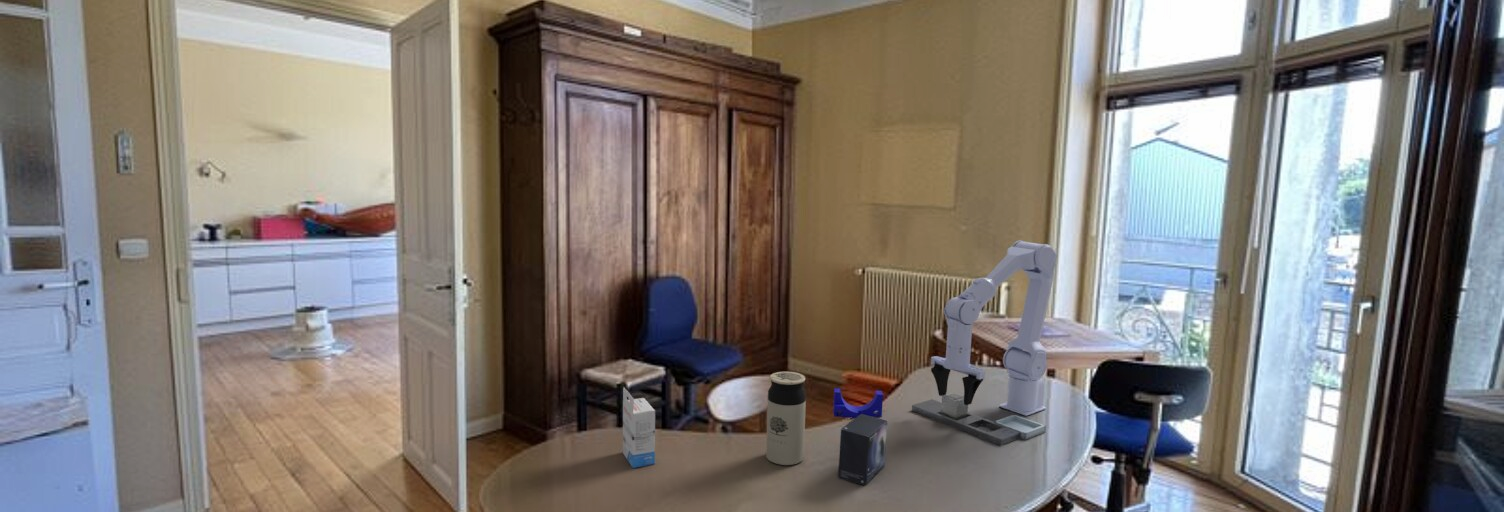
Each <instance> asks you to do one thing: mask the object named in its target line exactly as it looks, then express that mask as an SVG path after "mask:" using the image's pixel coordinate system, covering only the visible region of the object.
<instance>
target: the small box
mask: <svg viewBox="0 0 1504 512" xmlns="http://www.w3.org/2000/svg"><path fill="white" fill-rule="evenodd" d="M887 431H888V420H887V419H881V418H880V417H872V416H868V415H864V414H860V415H859V416H858V417H856V418H853V419H852V420H850V422H848V423H847V424H845V425H844V426H842V427H841V429H840V435H839V437H840V439H839V440H840V441H839V442H840V443H839V456H838V472H837V478H838V479H842V480H845V481H848V482H852V483H856V484H858V485H862V486H866V485H868V484H869V483H870V482H871V481H872V479H874V478H875V477H876V475H878V474H879V473H880V472H881V471H882V470H883V469H884V468H885V464H886V448H887V447H886V446H887V445H886V444H887Z"/></svg>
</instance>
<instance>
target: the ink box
mask: <svg viewBox="0 0 1504 512" xmlns="http://www.w3.org/2000/svg"><path fill="white" fill-rule="evenodd" d="M622 395H623V396H622V454H623V455H624V457H625V458H626V460H627V462H628V463H629V464H630V466H631V468H632V469H633V468H634V469H635V468H640V467H645V466H650V465H651V466H652V465H655V463H656V442H655V441H656V439H655V438H656V435H655V434H656V409H654V408H653V406H651V404H650V403H649V402H648V401H647V399H646V398H644V397H641V398H640V397H639V398H635V397H633V396H632V395H631V393H630V392H629V391H628V390H627V389H626V388H625V387H623V389H622Z"/></svg>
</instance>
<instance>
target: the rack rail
mask: <svg viewBox="0 0 1504 512" xmlns="http://www.w3.org/2000/svg"><path fill="white" fill-rule="evenodd" d="M941 406H942V401H937V400H935V399H929V400H925V401H922V402H918V403H914V404H912V405H911V411H913V412H914V413H915V412H916V413H917V414H920V415H923V416H925V417H928V418H930V419H933V420H936V421H938V422H941V423H943V424H946V425H948V426H950V427H953V428H956V429H958V430H961V431H963V432H965V433H969V434H971V435H973V436H975V437H979V438H981V439H983V440H987V441H989V442H992V443H994V444H996V445H999V446H1004V445H1007V444H1009V443H1011V442H1013V441H1016V440H1019V439H1022V438H1021V432H1019V431H1016V430H1013V429H1011V428H1008V427H1005V426H1002V425H1000V424H997V423H994V421H993V420H990V419H987V418H984V417H982V416H978V415H976V414H974V413H971V412H967V417H966V418H963V419H960V420H954V419H951V418H949V417H946V416H944V415H941ZM979 426H983V427H986V428H989V429H991V430H992V431H990V432H988V431H986V430H982V429H980V428H977V427H979Z"/></svg>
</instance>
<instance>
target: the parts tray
mask: <svg viewBox="0 0 1504 512" xmlns="http://www.w3.org/2000/svg"><path fill="white" fill-rule="evenodd" d="M993 422H994V423H997V424H1000V425H1002V426H1005V427H1008V428H1011V429H1013V430H1016V431H1019V432H1021V438H1020V439H1022V440H1025V441H1026V440H1028V439H1031V438H1033V437H1036V436H1039V435H1041V434H1044V433H1046V430H1047V425H1045V424H1042V423H1040V422H1037V421H1035V420H1034V421H1033V420H1031V419H1029V418H1026V417H1023V416H1019V415H1017V414H1011V415H1009V416H1005V417H1003V418H1000V419H997V420H994V421H993Z"/></svg>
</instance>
